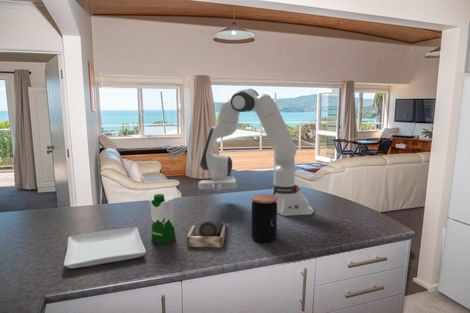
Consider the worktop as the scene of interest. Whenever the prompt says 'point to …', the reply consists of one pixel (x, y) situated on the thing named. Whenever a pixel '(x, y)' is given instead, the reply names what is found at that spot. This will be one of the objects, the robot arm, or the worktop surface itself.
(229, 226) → the worktop surface
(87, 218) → the worktop surface
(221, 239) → the birch bay
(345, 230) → the worktop surface
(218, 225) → the bluetooth speaker
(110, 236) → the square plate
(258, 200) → the coffee jar
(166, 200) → the milk carton
